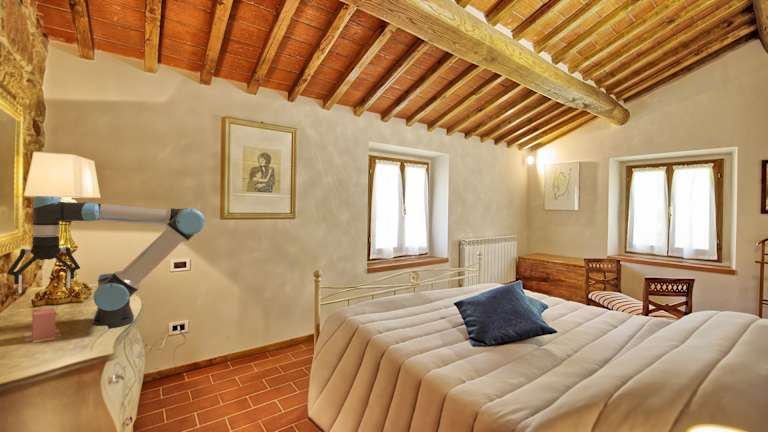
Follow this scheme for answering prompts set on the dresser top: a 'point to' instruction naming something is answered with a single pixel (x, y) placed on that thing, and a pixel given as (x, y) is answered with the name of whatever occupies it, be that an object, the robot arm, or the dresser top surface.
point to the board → (29, 340)
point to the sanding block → (43, 324)
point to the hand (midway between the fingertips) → (45, 289)
